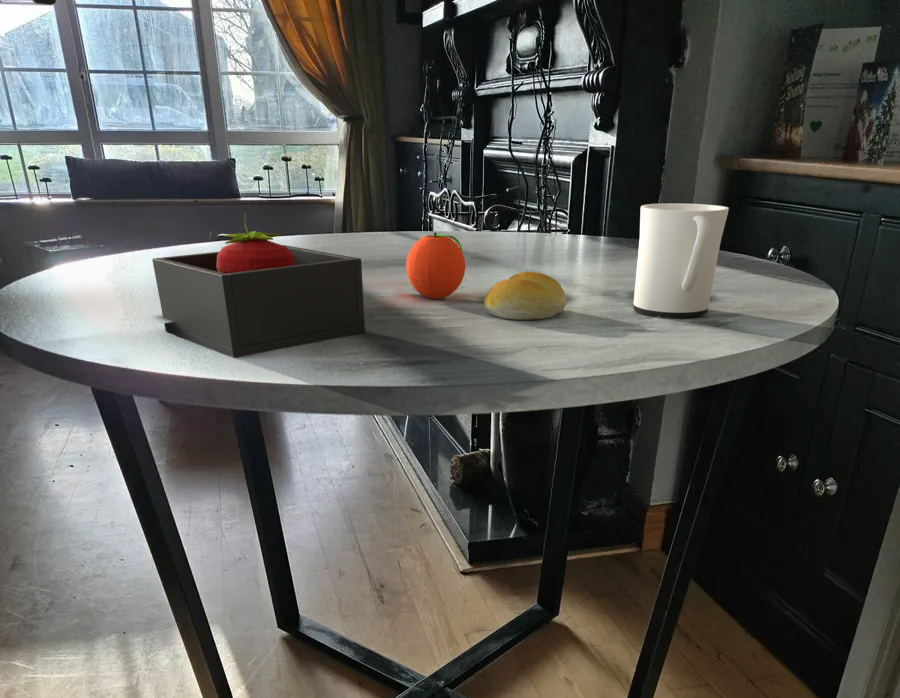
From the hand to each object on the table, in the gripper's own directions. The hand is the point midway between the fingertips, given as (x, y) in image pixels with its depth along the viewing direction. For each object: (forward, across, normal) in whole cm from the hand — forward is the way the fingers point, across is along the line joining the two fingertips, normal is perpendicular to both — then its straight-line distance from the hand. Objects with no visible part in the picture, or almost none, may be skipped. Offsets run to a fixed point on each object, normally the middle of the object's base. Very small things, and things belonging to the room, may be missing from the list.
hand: (60, 0), depth 76 cm
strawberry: (+28, +25, +4) cm, 37 cm away
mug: (+28, +47, +42) cm, 69 cm away
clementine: (+28, +23, +29) cm, 47 cm away
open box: (+28, +25, +4) cm, 38 cm away
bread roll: (+28, +36, +30) cm, 55 cm away
